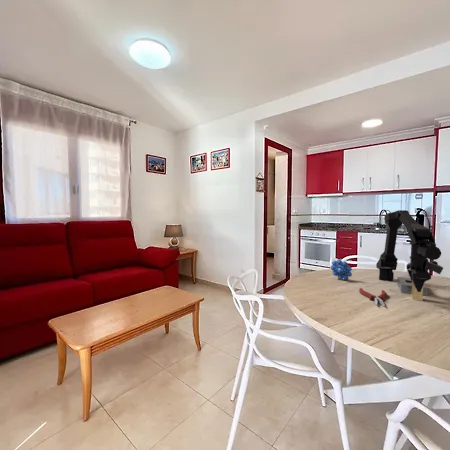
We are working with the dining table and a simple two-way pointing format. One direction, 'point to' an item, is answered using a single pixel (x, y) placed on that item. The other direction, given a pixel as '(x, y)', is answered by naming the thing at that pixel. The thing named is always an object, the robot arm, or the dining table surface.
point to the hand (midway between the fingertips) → (416, 288)
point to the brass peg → (416, 293)
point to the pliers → (372, 297)
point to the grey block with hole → (408, 285)
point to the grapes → (341, 269)
